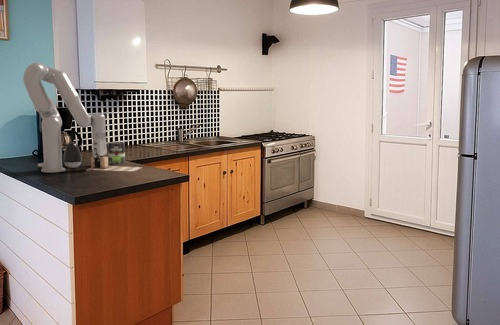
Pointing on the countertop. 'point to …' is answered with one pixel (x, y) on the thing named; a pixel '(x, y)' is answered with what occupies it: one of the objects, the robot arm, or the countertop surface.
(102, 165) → the sanding block
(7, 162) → the countertop surface
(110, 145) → the coffee can
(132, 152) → the countertop surface
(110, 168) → the board
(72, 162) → the grey egg shaped speaker
